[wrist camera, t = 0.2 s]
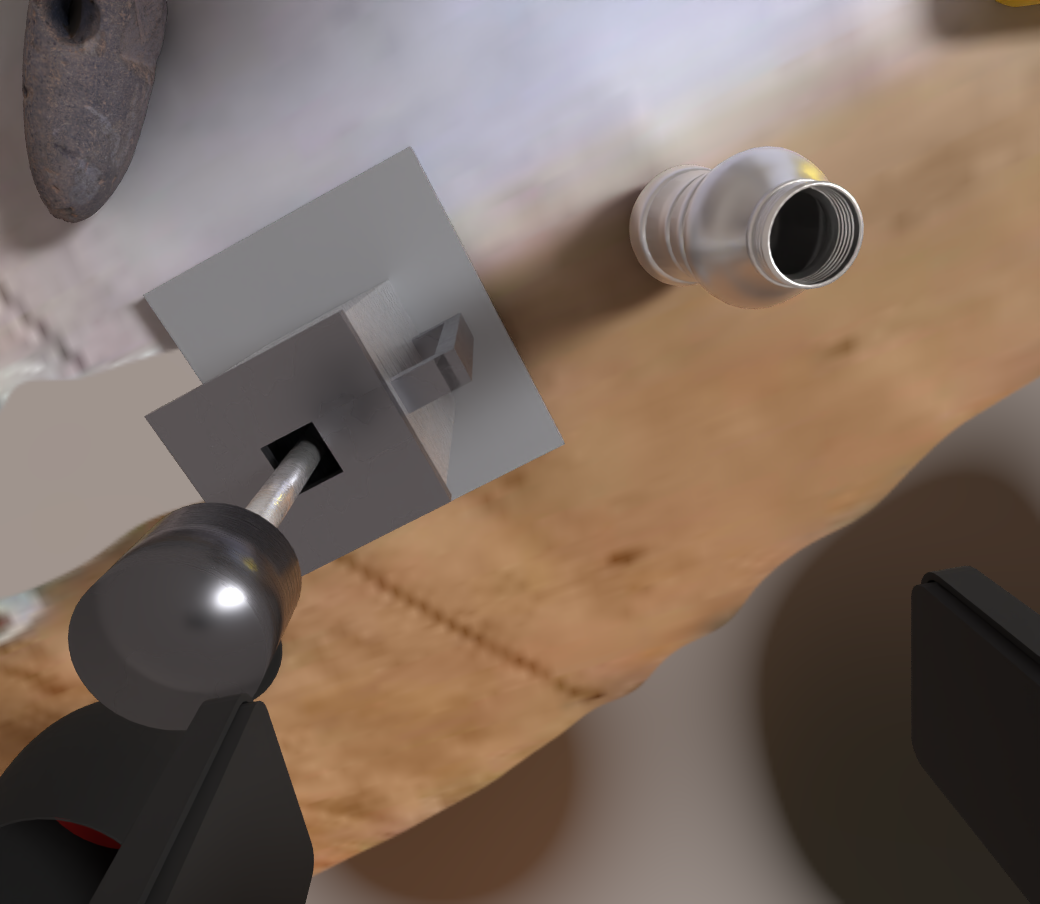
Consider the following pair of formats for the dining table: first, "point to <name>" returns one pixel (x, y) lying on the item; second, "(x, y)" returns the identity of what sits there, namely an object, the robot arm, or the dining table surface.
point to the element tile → (1018, 2)
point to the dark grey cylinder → (194, 604)
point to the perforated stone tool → (87, 95)
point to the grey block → (332, 423)
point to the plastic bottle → (747, 227)
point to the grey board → (350, 272)
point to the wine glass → (79, 800)
